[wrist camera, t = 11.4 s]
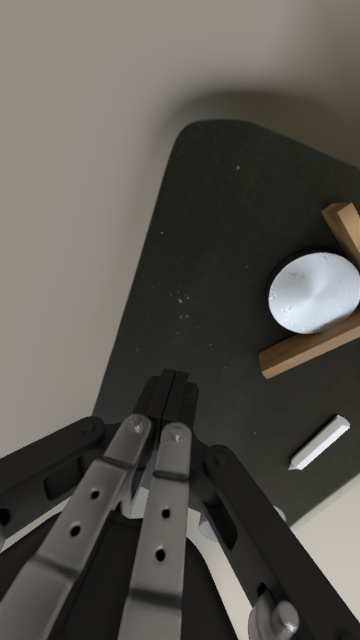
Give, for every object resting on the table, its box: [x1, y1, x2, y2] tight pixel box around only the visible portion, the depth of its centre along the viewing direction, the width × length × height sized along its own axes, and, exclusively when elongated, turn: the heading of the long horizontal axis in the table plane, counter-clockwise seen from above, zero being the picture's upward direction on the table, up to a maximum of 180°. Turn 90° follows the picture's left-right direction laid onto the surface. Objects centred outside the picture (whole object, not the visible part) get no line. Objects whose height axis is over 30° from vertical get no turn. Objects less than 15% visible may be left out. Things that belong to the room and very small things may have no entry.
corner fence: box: [258, 203, 360, 379], centre depth 32 cm, size 15×18×5 cm
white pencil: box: [288, 415, 350, 470], centre depth 44 cm, size 3×2×16 cm
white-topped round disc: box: [265, 249, 360, 334], centre depth 32 cm, size 11×11×3 cm
